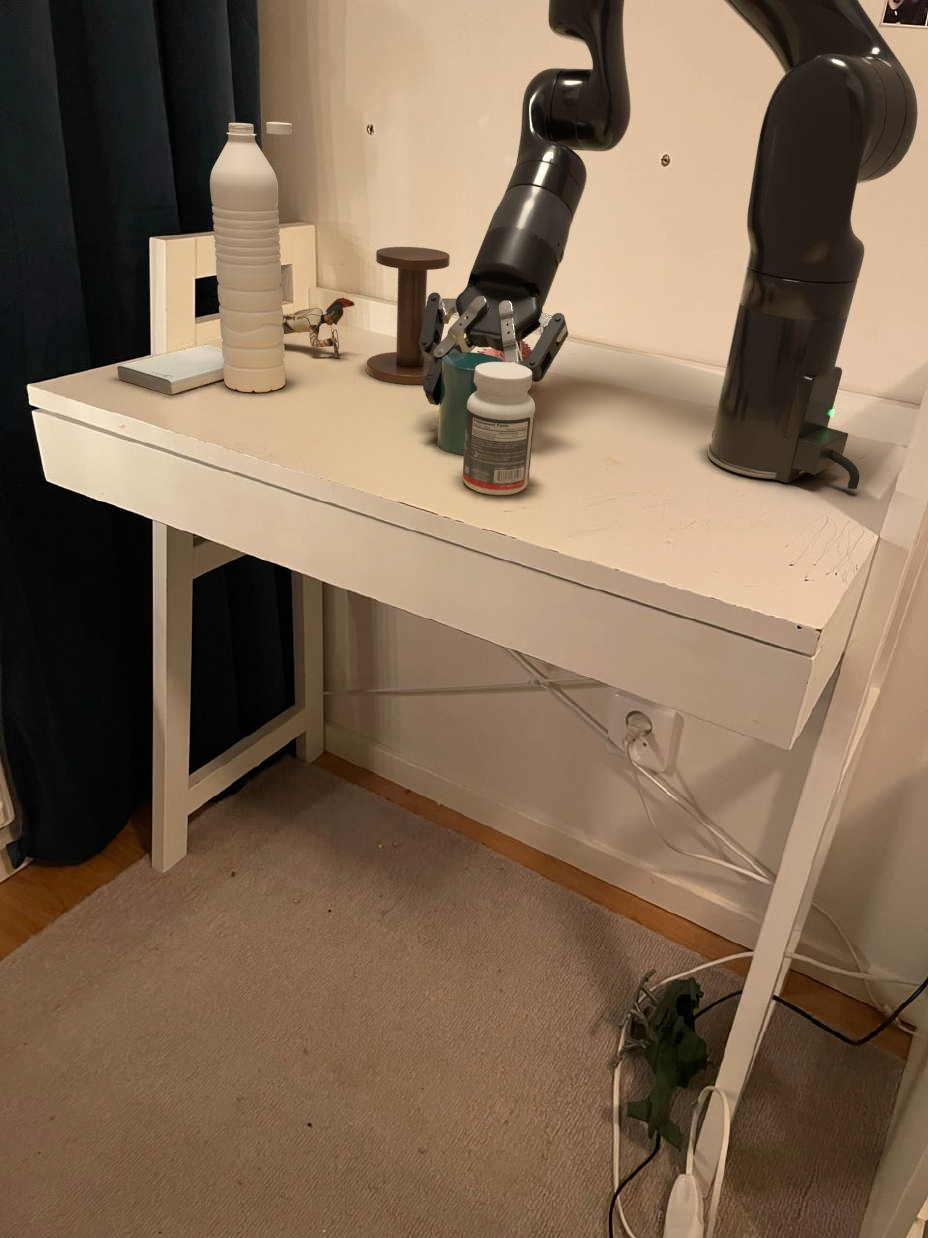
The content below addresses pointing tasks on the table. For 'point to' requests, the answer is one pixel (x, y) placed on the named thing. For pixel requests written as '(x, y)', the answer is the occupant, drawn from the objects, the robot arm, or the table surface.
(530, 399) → the pill bottle
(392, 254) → the pedestal stand
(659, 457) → the table surface
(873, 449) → the table surface
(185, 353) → the hard drive
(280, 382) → the water bottle
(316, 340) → the figurine
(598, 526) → the table surface
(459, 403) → the cylinder
